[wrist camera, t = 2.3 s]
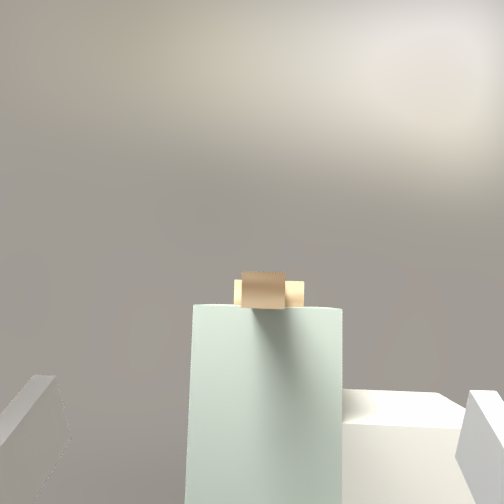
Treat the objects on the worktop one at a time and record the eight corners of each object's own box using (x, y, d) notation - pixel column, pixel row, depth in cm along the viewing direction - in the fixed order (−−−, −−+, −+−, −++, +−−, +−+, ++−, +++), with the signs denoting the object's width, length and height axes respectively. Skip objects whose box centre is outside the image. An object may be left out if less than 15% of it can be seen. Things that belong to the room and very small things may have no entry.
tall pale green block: (519, 798, 26) (498, 313, 29) (173, 761, 27) (193, 304, 31) (443, 641, 38) (435, 310, 41) (205, 622, 39) (217, 304, 43)
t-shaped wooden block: (318, 310, 22) (318, 269, 23) (208, 307, 23) (210, 267, 23) (300, 306, 41) (300, 284, 41) (240, 304, 42) (240, 283, 42)
